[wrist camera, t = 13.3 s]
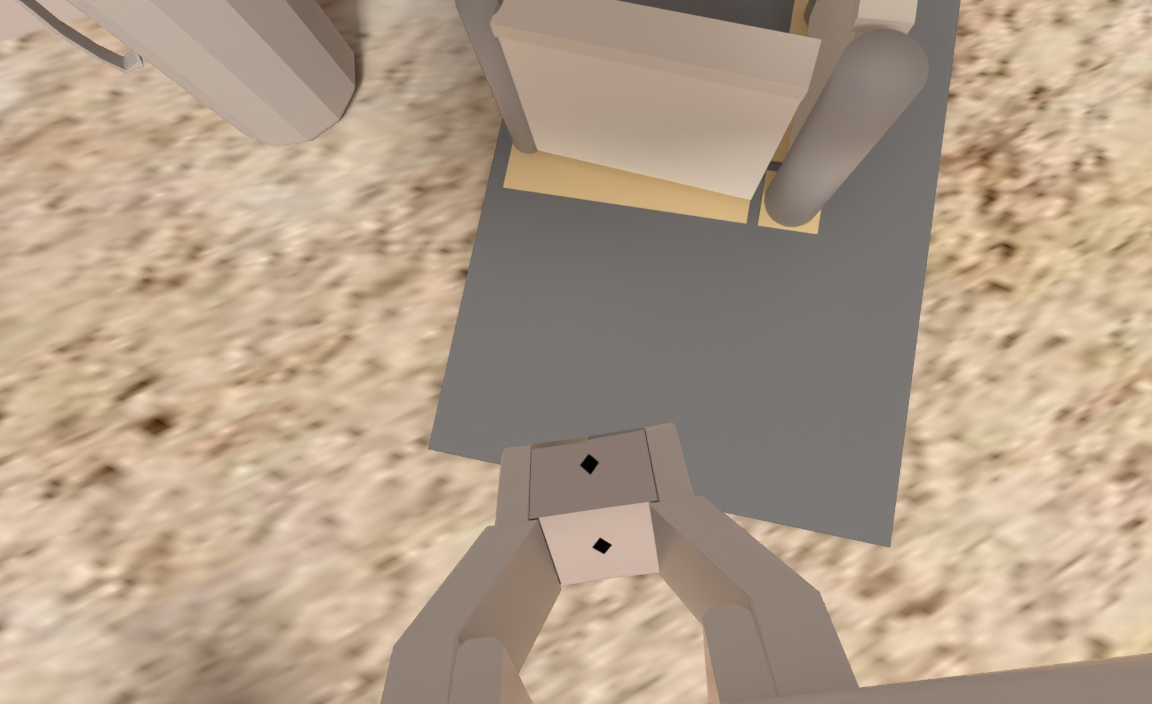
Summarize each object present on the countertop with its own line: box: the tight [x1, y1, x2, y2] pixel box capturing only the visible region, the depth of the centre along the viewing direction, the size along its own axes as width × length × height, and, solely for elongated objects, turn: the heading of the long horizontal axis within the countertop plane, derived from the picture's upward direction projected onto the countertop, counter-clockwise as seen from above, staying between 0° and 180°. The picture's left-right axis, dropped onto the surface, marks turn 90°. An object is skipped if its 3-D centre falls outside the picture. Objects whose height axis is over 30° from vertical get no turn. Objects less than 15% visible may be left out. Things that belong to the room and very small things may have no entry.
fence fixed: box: [764, 0, 929, 227], centre depth 21 cm, size 2×11×10 cm, turn 168°
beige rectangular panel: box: [455, 0, 821, 200], centre depth 22 cm, size 2×11×9 cm, turn 73°
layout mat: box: [428, 0, 960, 547], centre depth 26 cm, size 20×25×1 cm
